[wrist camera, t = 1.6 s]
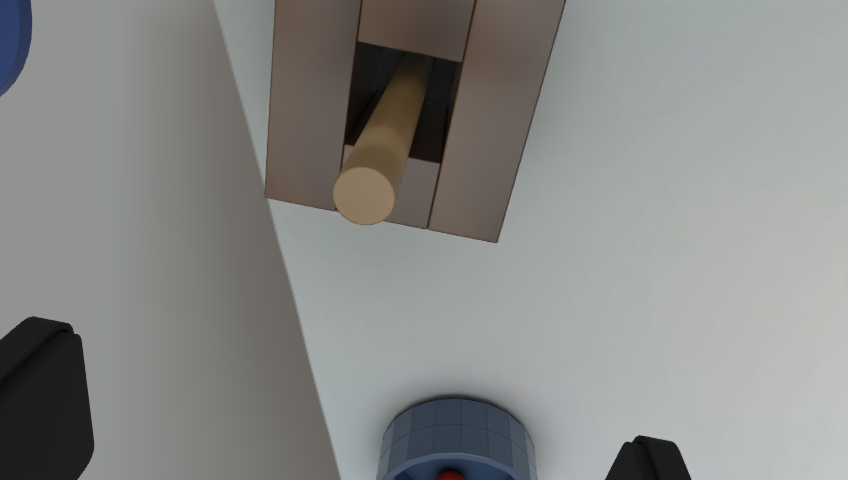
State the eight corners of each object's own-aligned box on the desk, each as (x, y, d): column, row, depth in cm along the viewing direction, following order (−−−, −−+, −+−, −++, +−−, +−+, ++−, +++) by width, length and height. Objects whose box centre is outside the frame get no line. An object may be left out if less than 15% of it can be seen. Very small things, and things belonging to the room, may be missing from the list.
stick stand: (313, 135, 36) (263, 198, 27) (333, -67, 31) (278, -70, 22) (490, 170, 36) (497, 244, 28) (540, -24, 31) (569, -9, 22)
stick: (400, 74, 34) (328, 219, 16) (406, 43, 33) (335, 160, 15) (430, 80, 34) (390, 231, 16) (436, 49, 33) (400, 173, 15)
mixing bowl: (372, 486, 51) (361, 548, 46) (395, 380, 45) (385, 438, 40) (511, 511, 52) (516, 577, 46) (551, 410, 46) (562, 471, 40)
